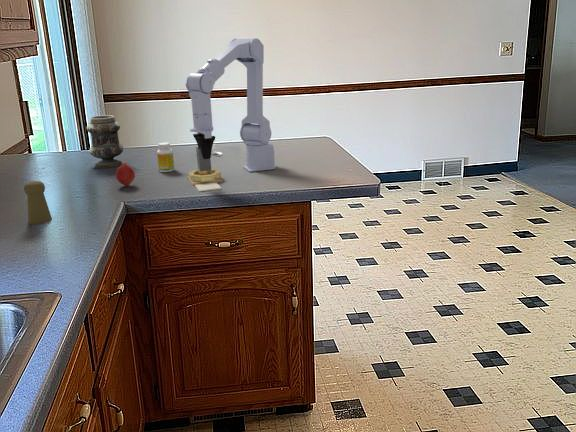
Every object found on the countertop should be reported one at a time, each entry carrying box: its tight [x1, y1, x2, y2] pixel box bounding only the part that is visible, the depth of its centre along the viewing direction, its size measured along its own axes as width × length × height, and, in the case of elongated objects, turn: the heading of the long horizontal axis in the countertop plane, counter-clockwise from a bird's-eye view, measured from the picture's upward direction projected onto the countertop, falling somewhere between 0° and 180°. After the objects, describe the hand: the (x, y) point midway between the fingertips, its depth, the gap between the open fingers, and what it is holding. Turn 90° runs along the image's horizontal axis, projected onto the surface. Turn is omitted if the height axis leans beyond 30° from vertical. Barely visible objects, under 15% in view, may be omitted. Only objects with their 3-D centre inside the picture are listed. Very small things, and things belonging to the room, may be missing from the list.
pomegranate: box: [115, 161, 136, 187], centre depth 192 cm, size 6×6×8 cm
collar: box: [188, 168, 222, 182], centre depth 197 cm, size 10×10×2 cm
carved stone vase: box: [86, 114, 124, 169], centre depth 220 cm, size 12×12×18 cm
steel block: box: [195, 146, 212, 172], centre depth 185 cm, size 4×4×7 cm
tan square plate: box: [187, 175, 224, 186], centre depth 197 cm, size 10×10×1 cm
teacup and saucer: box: [211, 143, 223, 158], centre depth 233 cm, size 9×8×4 cm
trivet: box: [194, 182, 222, 193], centre depth 188 cm, size 7×7×1 cm
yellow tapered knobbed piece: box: [23, 180, 53, 226], centre depth 161 cm, size 6×6×11 cm
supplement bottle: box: [156, 141, 175, 173], centre depth 210 cm, size 5×5×10 cm
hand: (205, 157), depth 185 cm, fingers closed on steel block, 3 cm apart
